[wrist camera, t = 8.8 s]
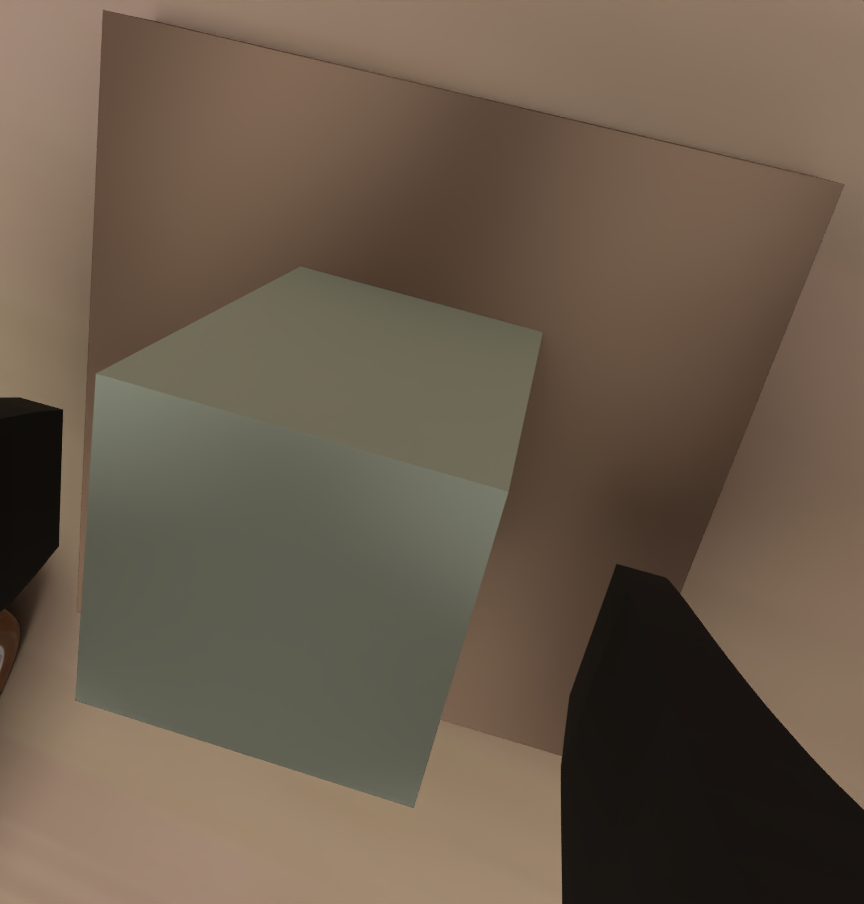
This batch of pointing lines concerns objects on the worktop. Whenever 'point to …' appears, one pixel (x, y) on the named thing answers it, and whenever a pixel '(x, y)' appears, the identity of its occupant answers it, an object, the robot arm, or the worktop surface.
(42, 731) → the worktop surface
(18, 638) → the tin
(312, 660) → the block
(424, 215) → the base
